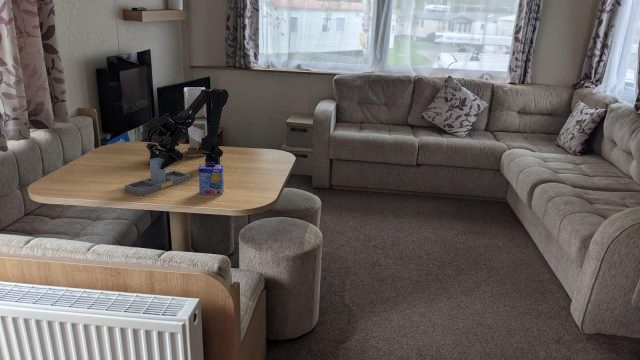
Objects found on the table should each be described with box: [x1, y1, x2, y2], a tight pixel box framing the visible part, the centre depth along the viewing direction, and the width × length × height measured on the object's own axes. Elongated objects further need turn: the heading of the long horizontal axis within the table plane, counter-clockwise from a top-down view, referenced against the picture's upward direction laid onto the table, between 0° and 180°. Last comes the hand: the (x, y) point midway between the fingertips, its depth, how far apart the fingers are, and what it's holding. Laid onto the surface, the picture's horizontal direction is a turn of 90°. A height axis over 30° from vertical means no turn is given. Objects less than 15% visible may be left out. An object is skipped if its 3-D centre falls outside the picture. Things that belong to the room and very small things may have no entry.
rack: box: [124, 170, 191, 197], centre depth 219 cm, size 27×11×2 cm, turn 148°
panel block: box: [148, 158, 166, 184], centre depth 217 cm, size 4×5×11 cm
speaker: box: [159, 153, 174, 168], centre depth 248 cm, size 8×6×10 cm
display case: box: [183, 87, 208, 157], centre depth 264 cm, size 11×11×35 cm
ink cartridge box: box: [198, 162, 225, 196], centre depth 210 cm, size 10×6×14 cm, turn 95°
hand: (155, 167), depth 215 cm, fingers open, 7 cm apart
